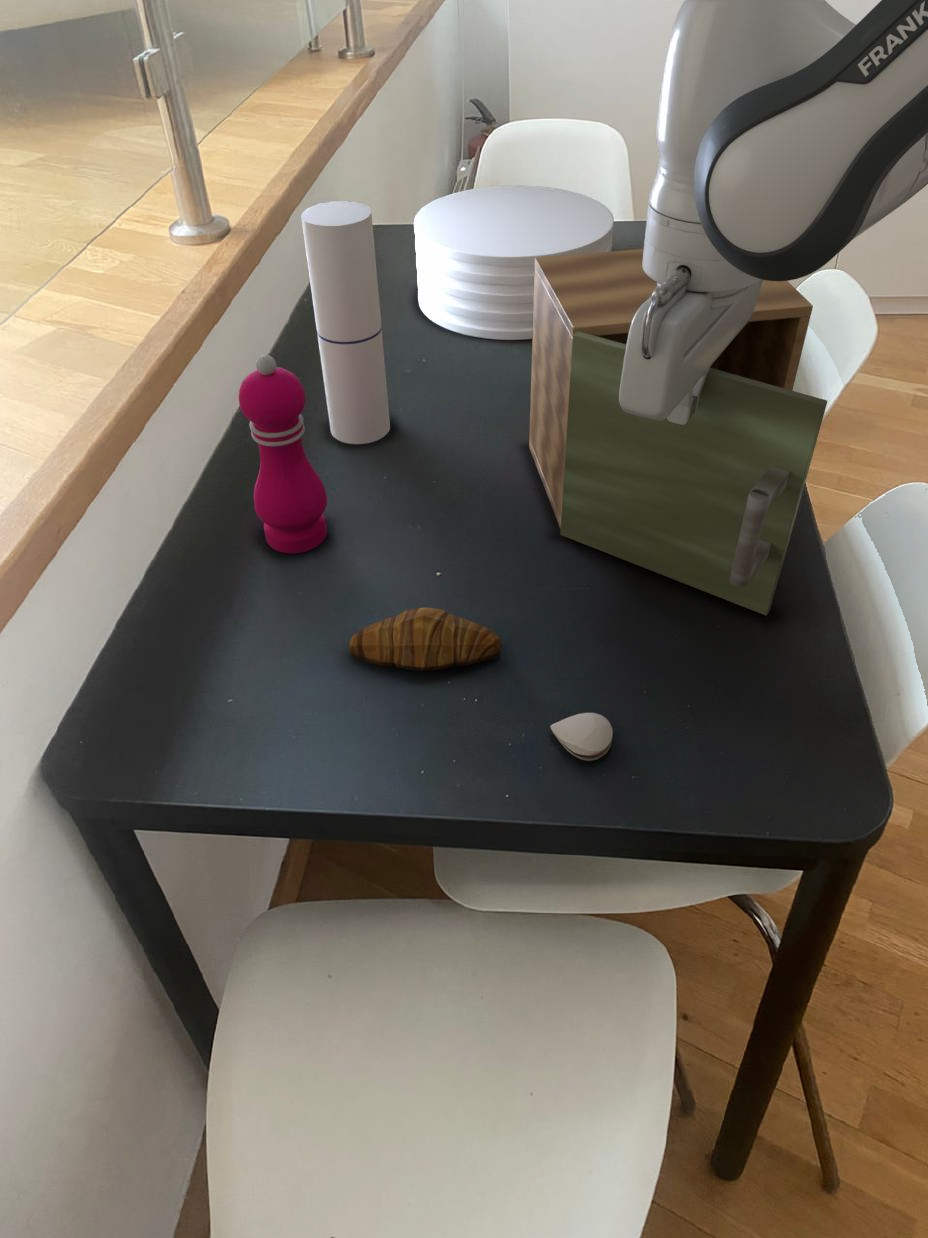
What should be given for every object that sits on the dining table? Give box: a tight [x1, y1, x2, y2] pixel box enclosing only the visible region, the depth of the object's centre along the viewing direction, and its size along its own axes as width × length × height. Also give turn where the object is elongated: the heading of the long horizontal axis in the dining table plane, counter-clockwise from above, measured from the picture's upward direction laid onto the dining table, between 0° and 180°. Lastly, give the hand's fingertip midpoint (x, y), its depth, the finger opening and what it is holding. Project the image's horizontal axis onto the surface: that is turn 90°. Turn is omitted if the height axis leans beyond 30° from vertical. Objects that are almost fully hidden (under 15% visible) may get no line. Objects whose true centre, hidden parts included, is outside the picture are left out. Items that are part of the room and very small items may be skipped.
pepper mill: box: [238, 354, 328, 554], centre depth 88 cm, size 7×7×20 cm
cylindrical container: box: [300, 200, 391, 445], centre depth 102 cm, size 7×7×25 cm
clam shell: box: [549, 712, 614, 762], centre depth 73 cm, size 4×5×2 cm
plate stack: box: [413, 184, 615, 341], centre depth 133 cm, size 28×28×12 cm
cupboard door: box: [559, 331, 828, 616], centre depth 80 cm, size 6×22×22 cm, turn 55°
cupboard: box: [528, 248, 814, 530], centre depth 94 cm, size 16×22×22 cm
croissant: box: [348, 606, 503, 672], centre depth 80 cm, size 14×7×5 cm, turn 89°
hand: (681, 416), depth 75 cm, fingers closed
